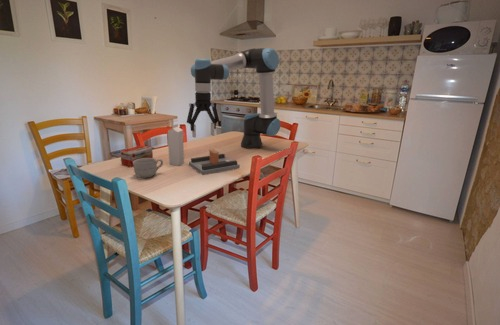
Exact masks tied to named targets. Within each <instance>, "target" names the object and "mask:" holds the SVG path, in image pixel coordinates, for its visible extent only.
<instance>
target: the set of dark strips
mask: <svg viewBox="0 0 500 325" xmlns="http://www.w3.org/2000/svg"><path fill="white" fill-rule="evenodd" d="M225 155H226V154H224V153H219V159H221V158H225V157H226V156H225ZM208 160H210V155H206V156H199V157H191V158H190V161H191V162H192V163H195V162H202V161H208ZM237 164H238V161H237V160H231V161H228V162H221V163H215V164H209V165H203V166H202V170H209V169H215V168H221V167H227V166H233V165H237Z"/></svg>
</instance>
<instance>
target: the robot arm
mask: <svg viewBox="0 0 500 325" xmlns="http://www.w3.org/2000/svg"><path fill="white" fill-rule="evenodd" d="M279 63H280V58H279V54H278V52H277V51H276V50H275V49H273V48H270V47H263V48H262V47H261V48H259V47H258V48H249V49H245V50H243V51H242V50H241V51H240V52H237V53H235V55H231V56H230V55H229V56H227V57H222V58H219V59H218V58H217V59H215V60H211V59H209V58H196V59H195V60H194V63H193V64H192V65H191V67H190V74H191V76H192V77H193V78H194V81H195V84H194V86H195V87H194V89H195V90H194V91H195V93H194V95H195V99H194V100H195V102H194V103H188V106H189V109H188V115H187V117H186V118H187V119H186V123H187V124H189V125H190V131H191V135H192V136H191V137H192V138H197V129H196V128H197V127H196V124H195V123H196V122H197V120H198V117H199V115H200V113H201V112H206V113H207V115H208V117H209V119H210V120H211V122H210V135H211V136H212V137H214V136H215V130H216V128H217V123H219V122H220V118H219V114H218V109H217V103H216V102H212V101H211V99H212V97H211V94H212V93H210V92H211V91H212V89H211V87H212V84H211V83H212V81H211V80H216V81H217V80H218V81H223V80H224V81H225V80H227V79H228V78H229V76H230V71H233V70H237V69H239V70H240V69H241V70H243V69H255V73H256V74H257V75H258V81H259V82H258V85H259V99H260V113H258V112H256V113H246V114H245V115H244V116H243V118H244V119H243V137H242V138H241V142H240V147H241V148H243V147H244V149H248V148H258V149H260V147H261V148H262V147H263V142H262V138H261V135H265V136H271V137H274V136H276V135H277V134H278V133H279V131H280V130H281V125H282V123H281V120H280V119H279V118H277V113H276V112H275V103H274V102H275V101H274V100H275V98H274V96H275V95H274V77H273V75H274V73H275V72H276V69H277V68H278V67H279ZM195 107H196V109H195ZM194 109H195V110H194ZM211 110H212V111H211Z"/></svg>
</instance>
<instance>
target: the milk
mask: <svg viewBox="0 0 500 325" xmlns="http://www.w3.org/2000/svg"><path fill="white" fill-rule="evenodd" d="M171 127H172V128H170V129H169V130H168V131H167V144H168V145H167V146H168V147H167V148H168V163H169V166H174V167H175V166H176V167H180V166H181V165H183V164H184V163H185V153H184V152H185V151H184V147H185V146H184V130H183V129H182V128H180V127H179V124H178V123H177V124H174V125H172V126H171Z"/></svg>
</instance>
